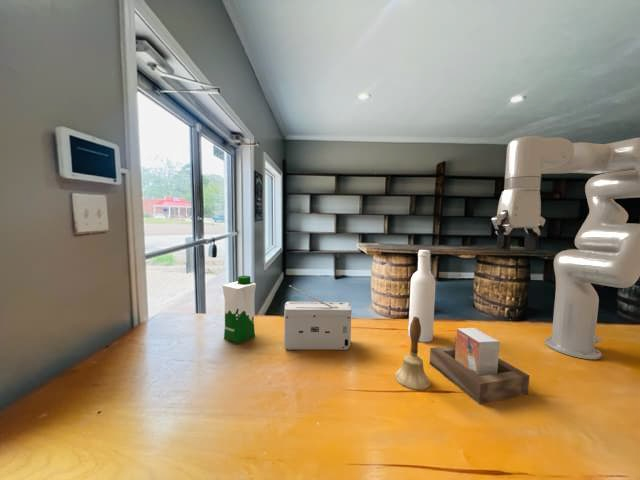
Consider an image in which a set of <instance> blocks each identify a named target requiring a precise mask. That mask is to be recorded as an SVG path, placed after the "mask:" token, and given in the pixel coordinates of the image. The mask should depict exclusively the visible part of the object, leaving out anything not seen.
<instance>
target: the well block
mask: <svg viewBox="0 0 640 480" xmlns="http://www.w3.org/2000/svg"><path fill="white" fill-rule="evenodd" d="M455 350H456V344H454V345H453V344H452V345H445V346H444V345H443V346H438V347H430V349H429V365H431V366H432V368H434V369H436V370H437V371H438V372H439V373H440V374H441V375H443V376H444V377H445V378H446V379H448V380H449V381H450V382H451V383H453V384H454V385H455V386H457V388H459V389H460V390H461V391H463V392H464V393H465V394H466V395H467V396H468V397H470V398H471V399H472V400H473V401H474V402H476V403H478V404H479V405H482V404H486V403H491V402H496V401H501V400H505V399H511V398H515V397H521V396H527V395H528V394H529V388H530V387H529V386H530V375H529V374H528V373H526V372H525V371H522V370H520V369H519V368H517V367H515V366H514V365H512V364H510V363H509V362H506V361H505V360H503V359H501V358H499V357H498V368H497V374H492V375H486V376H478V375H477V374H475V373H474V372H472V371H471V370H470V369H468V368H467V367H465V366H464V365H462V364H461V363H459V362H458V361H456V360H455Z"/></svg>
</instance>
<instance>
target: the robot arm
mask: <svg viewBox="0 0 640 480" xmlns="http://www.w3.org/2000/svg"><path fill="white" fill-rule="evenodd" d="M505 158H506V160H505V169H504V170H505V171H504V173H505V174H504V185H503V186H504V187H503V189H504V190H503V191H501V195H500V197H499V201H498V205H497V213H496V215H495V216H492V218H491V222H492V225H493V229H494V230H495V234H496V235H497V240H496V249H497V250H502V251H510V249H511V238H512V237H511V235H510V233H511V231H512V230H513V229H514V228H515V229H524V231H525V233H526V234H525V235H524V242H523V243H524V246H523V248H524V249H525V250H530V251H531V250H532V251H537V250H538V248H539V236H540V235H541V232H542V231H543V229H544V225H545V223H546V219H545V218H544V217H543V216H541V213H542V206H541V205H542V201H541V200H542V199H541V192H540V191H541V182H542V175H543V174H544V175H545V174H548V175H549V174H569V173H571V174H595V175H594V176H592V177H590V178H589V179H588V180H587V182H586V184H585V186H584V189H585V190H584V192H585V196H586V199H587V200H586V201H587V204H588V209H589V212H588V214H587V216H586V219H585V220H584V222H583V223H582V224H581V227H580V228H579V230H578V232H577V233H576V236H575V238H574V245H575V247H576V248H577V249H567V250H562V251H560V252H558V253H556V254H555V256H554V258H553V259H554V260H553V271H554V276H555V294H554V295H555V296H554V297H555V298H554V304H553V305H554V306H553V318H552V319H553V320H552V329H551V337H550V336H549V337H546V338H545V339H544V344H545V345H546V346H547V347H549V348H551V349H552V350H554V351H556V352H559V353H561V354H564V355H567V356H570V357H575V358H578V359H583V360H584V359H585V360H598V359H601V358H602V351H600V350H599V349H597V348H595V344H597V343H602V338H601V337H600V336H596V333H597V323H598V312H599V302H600V300H599V299H600V298H599V295H598V292H597V291H596V290H595V288H594V287H593V285H592V284H595V285H601V286H607V287H613V288H620V289H622V288H623V289H626V288H630V287H632V286H633V285H635V284H636V283H637V281H638V280H639V279H640V223H627V221H628V219H629V214H628V211H626V209H625V208H624V207H622V206H621V205H620V204H619V203H617V202H616V201H615V200H617V199H629V198H630V199H632V198H634V199H635V198H640V137H633V138H630V139H624V140H620V141H615V142H611V143H610V142H609V143H603V144H601V143H591V142H584V141H582V142H581V141H579V142H572V141H570V140H569V139H567V138H564V137H542V136H538V135H525V136H521V137H518V138H514V139H512V140H511V141H510V142H509V143H508V144H507V147H506V157H505ZM596 174H597V175H596Z"/></svg>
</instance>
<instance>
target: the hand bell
mask: <svg viewBox="0 0 640 480" xmlns="http://www.w3.org/2000/svg"><path fill="white" fill-rule="evenodd" d="M420 335H421V325H420V321H419V318H418V317H413V320H412V322H411V325H410V337H411V338H410V337H409V338H410V341H411V342H410V351H409V354H405V355H404V357H403V362H402V364H401V367H400V368H398V369H397V370H396V372H395V373H394V377H395V380H396V381H397V382H398V384H400V385H401V386H403V387H405V388H407V389H411V390H414V391H423V390H427V389H428V388H429V387H430V386H431V381H430V378H429V377H428V376H427V375H426V372H425V369H424V361H423V359H422V358H421V356H418V351H419V350H418V349H419V348H418V346H419V345H418V344H419V338H420Z"/></svg>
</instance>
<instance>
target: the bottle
mask: <svg viewBox="0 0 640 480" xmlns="http://www.w3.org/2000/svg"><path fill="white" fill-rule="evenodd" d="M417 259H418V260H417V270H416V271H415V272H414V273H413V274H412V276H411V278H410V287H409V289H410V291H409V293H410V294H409V308H408V309H409V313H408V329H407V331H408V332H407V334H408V335H407V336H408V337H409V338H410V339H411V337H410V325H411V322H412V320H413V317H418V318H419V321H420V325H421V335H420V338H419V341H418V343H419V342H420V343H429V342H432V341H433V340H434V339H433V337H434V321H435V318H434V317H435V303H436V302H435V299H436V278H435V276H434V275H433V273H432V272H431V271H430V266H431V265H430V262H431V250H429V249H419V250H418V253H417Z"/></svg>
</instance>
